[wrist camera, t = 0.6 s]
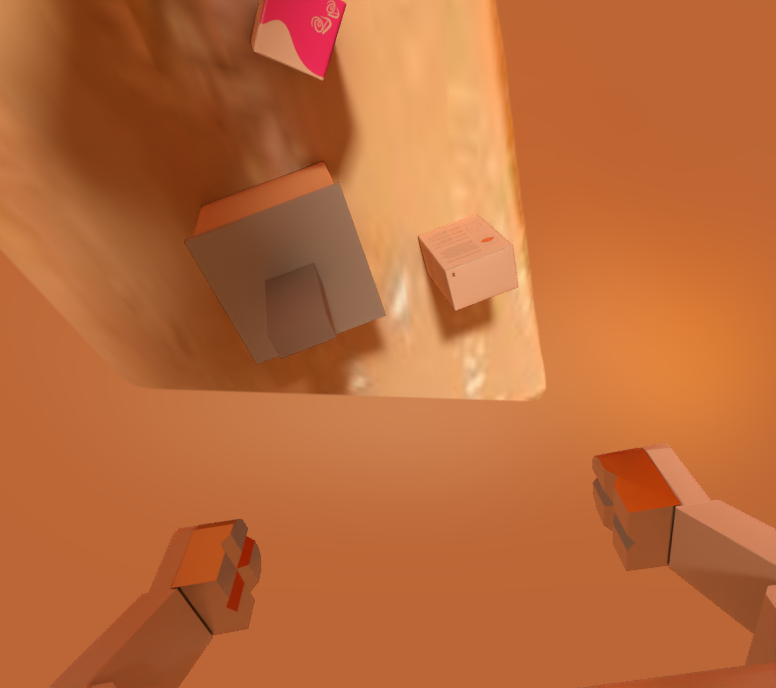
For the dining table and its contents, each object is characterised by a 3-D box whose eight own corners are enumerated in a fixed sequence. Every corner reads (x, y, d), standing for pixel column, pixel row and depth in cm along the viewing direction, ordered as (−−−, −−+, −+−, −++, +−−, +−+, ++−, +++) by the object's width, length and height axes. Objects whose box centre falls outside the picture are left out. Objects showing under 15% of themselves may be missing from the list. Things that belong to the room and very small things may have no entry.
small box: (426, 273, 64) (453, 313, 55) (416, 234, 60) (443, 270, 52) (484, 251, 64) (520, 288, 55) (477, 212, 60) (514, 244, 52)
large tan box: (201, 206, 53) (191, 240, 45) (323, 160, 53) (335, 187, 45) (257, 310, 61) (258, 355, 53) (363, 270, 61) (379, 309, 53)
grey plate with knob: (185, 239, 44) (168, 294, 36) (338, 182, 45) (358, 223, 36) (256, 360, 53) (256, 428, 44) (384, 311, 53) (409, 370, 45)
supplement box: (309, 70, 48) (323, 84, 39) (248, 43, 46) (247, 51, 37) (329, 4, 46) (348, 2, 36) (265, -28, 43) (268, -39, 34)
